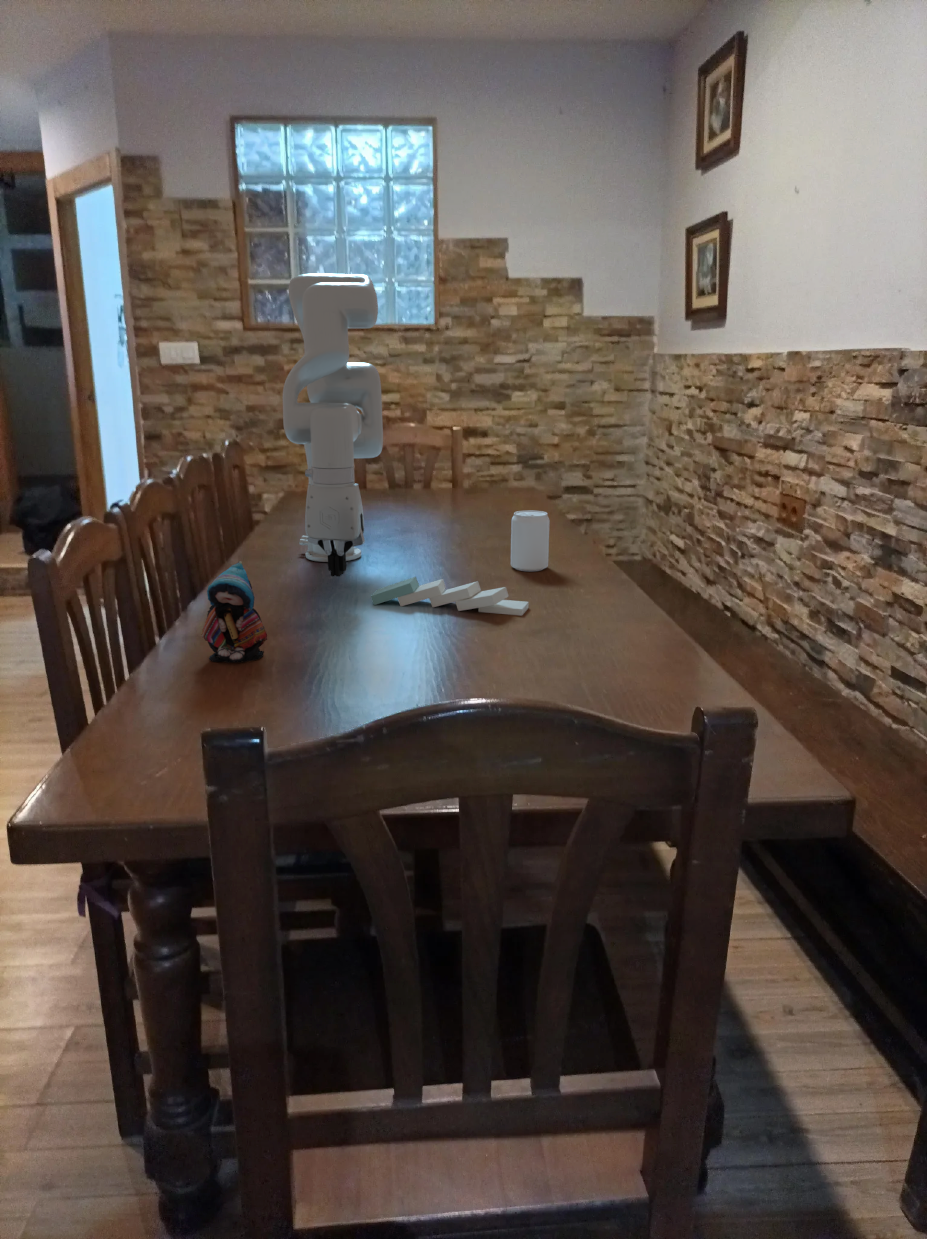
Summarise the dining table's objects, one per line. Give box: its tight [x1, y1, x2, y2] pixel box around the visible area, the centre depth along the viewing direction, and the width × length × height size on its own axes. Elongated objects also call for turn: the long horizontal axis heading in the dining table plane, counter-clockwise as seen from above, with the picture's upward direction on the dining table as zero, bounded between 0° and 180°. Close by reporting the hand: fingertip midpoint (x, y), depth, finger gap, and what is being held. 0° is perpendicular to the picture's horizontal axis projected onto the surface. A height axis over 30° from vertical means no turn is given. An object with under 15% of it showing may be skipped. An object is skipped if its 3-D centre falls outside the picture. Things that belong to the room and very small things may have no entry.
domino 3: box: [428, 580, 482, 608], centre depth 158 cm, size 2×5×8 cm
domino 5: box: [478, 599, 529, 617], centre depth 156 cm, size 2×5×8 cm
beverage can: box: [510, 509, 551, 573], centre depth 185 cm, size 8×8×12 cm
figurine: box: [200, 560, 268, 663], centre depth 128 cm, size 10×7×15 cm
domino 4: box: [455, 586, 509, 612], centre depth 155 cm, size 2×5×8 cm
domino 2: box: [397, 578, 447, 607], centre depth 160 cm, size 2×5×8 cm
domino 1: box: [370, 576, 420, 606], centre depth 160 cm, size 2×5×8 cm
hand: (337, 574), depth 162 cm, fingers closed
